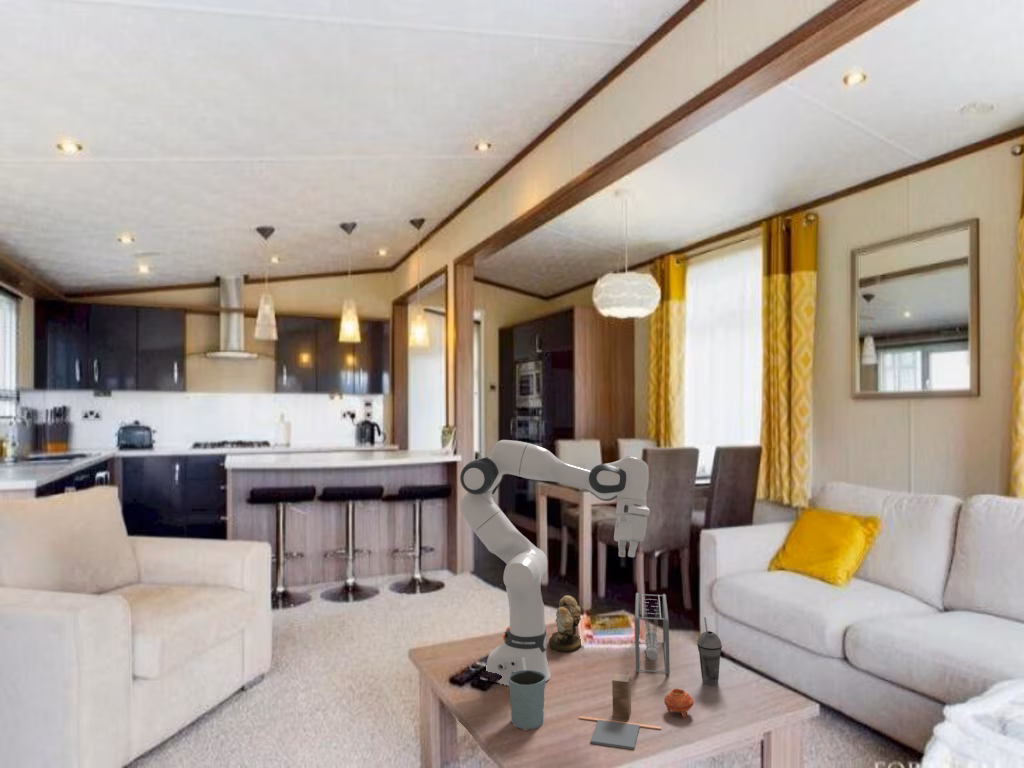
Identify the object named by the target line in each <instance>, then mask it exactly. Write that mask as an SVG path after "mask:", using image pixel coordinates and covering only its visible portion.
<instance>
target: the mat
mask: <svg viewBox="0 0 1024 768" xmlns="http://www.w3.org/2000/svg"><path fill="white" fill-rule="evenodd" d="M640 728H641V727H640V725H635V724H627V723H620V722H612V721H605V720H598V721H596V725H595V728H594V730H593V733H592V736H591V738H590V744H593V745H601V746H608V747H615V748H621V749H627V750H629V749H630V750H635V748H636V745H637V739H638V735H639V733H640V732H639V731H640Z"/></svg>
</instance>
